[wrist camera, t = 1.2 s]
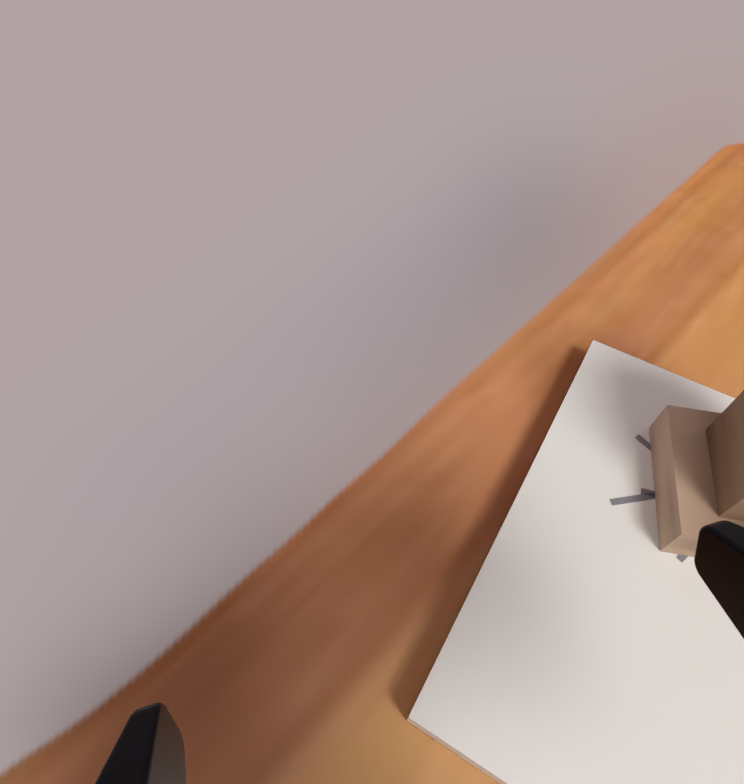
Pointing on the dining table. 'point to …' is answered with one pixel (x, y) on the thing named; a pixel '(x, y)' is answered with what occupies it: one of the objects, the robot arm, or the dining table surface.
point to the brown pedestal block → (697, 472)
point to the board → (593, 613)
